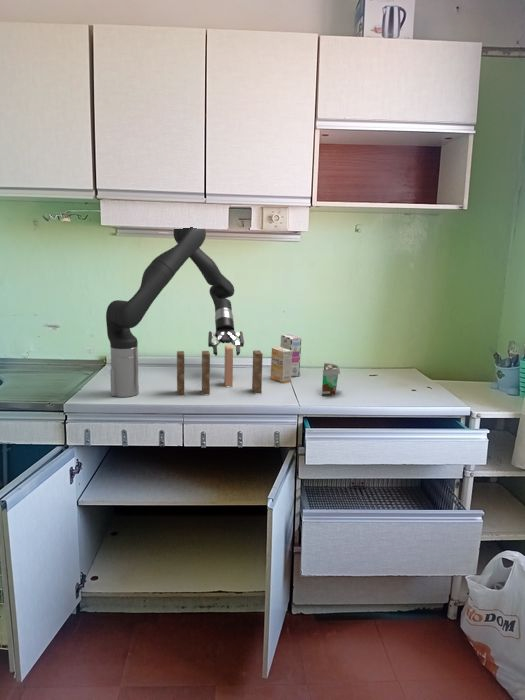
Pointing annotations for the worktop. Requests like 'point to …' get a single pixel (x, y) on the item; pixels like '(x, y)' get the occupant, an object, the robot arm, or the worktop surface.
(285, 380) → the supplement box
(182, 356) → the near walnut tile
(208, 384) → the middle walnut tile
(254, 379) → the wood grain beam
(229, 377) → the terracotta tile
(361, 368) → the worktop surface
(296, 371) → the candy bar box
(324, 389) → the food container
